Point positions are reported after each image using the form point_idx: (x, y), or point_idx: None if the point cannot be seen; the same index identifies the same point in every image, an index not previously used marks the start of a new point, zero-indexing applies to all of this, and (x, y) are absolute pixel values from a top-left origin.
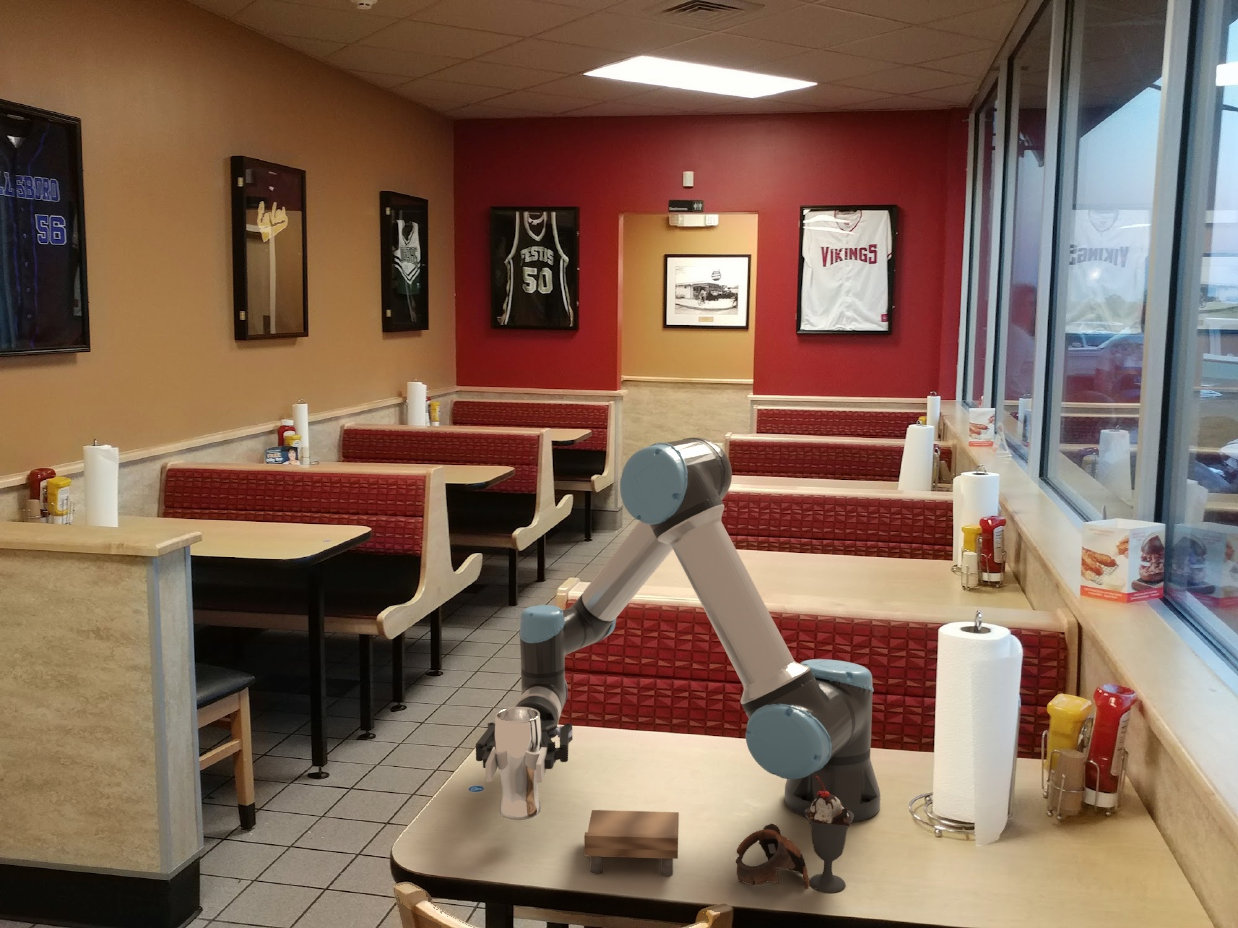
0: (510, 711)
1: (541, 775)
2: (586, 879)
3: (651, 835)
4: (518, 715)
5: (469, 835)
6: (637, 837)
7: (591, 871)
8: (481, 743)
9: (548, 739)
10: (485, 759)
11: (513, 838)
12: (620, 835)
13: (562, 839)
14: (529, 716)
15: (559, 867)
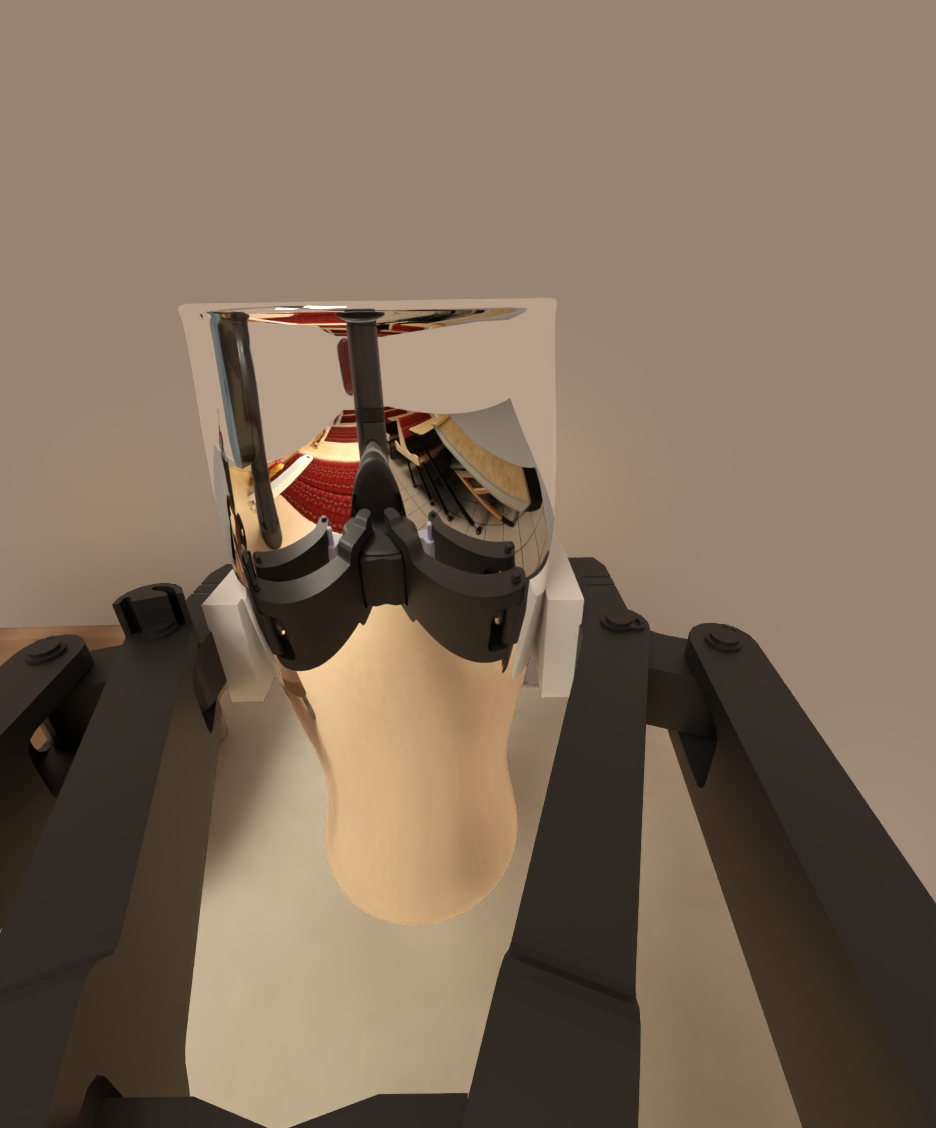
0: (457, 344)
1: None
2: (250, 703)
3: (25, 635)
4: (379, 409)
5: (661, 937)
6: (74, 627)
7: (226, 725)
8: (713, 644)
9: (109, 742)
10: (580, 560)
11: (464, 924)
12: (117, 629)
13: (257, 932)
14: (265, 410)
15: (308, 745)
